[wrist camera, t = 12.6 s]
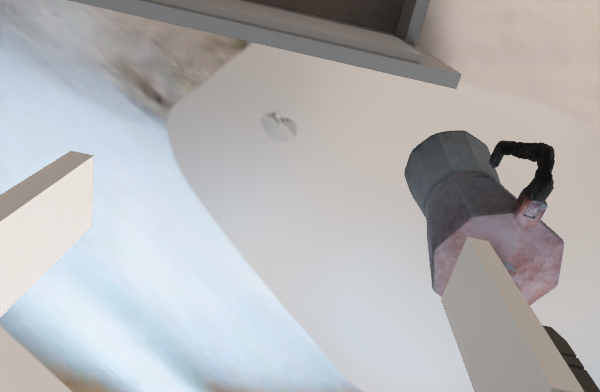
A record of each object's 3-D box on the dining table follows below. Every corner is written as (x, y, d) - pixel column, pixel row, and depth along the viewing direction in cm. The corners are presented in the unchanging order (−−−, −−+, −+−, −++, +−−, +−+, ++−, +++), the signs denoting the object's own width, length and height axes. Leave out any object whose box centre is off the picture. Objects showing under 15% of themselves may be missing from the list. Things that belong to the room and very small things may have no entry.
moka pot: (382, 221, 51) (412, 349, 33) (424, 84, 45) (490, 149, 26) (465, 237, 51) (540, 374, 33) (518, 104, 45) (648, 182, 27)
